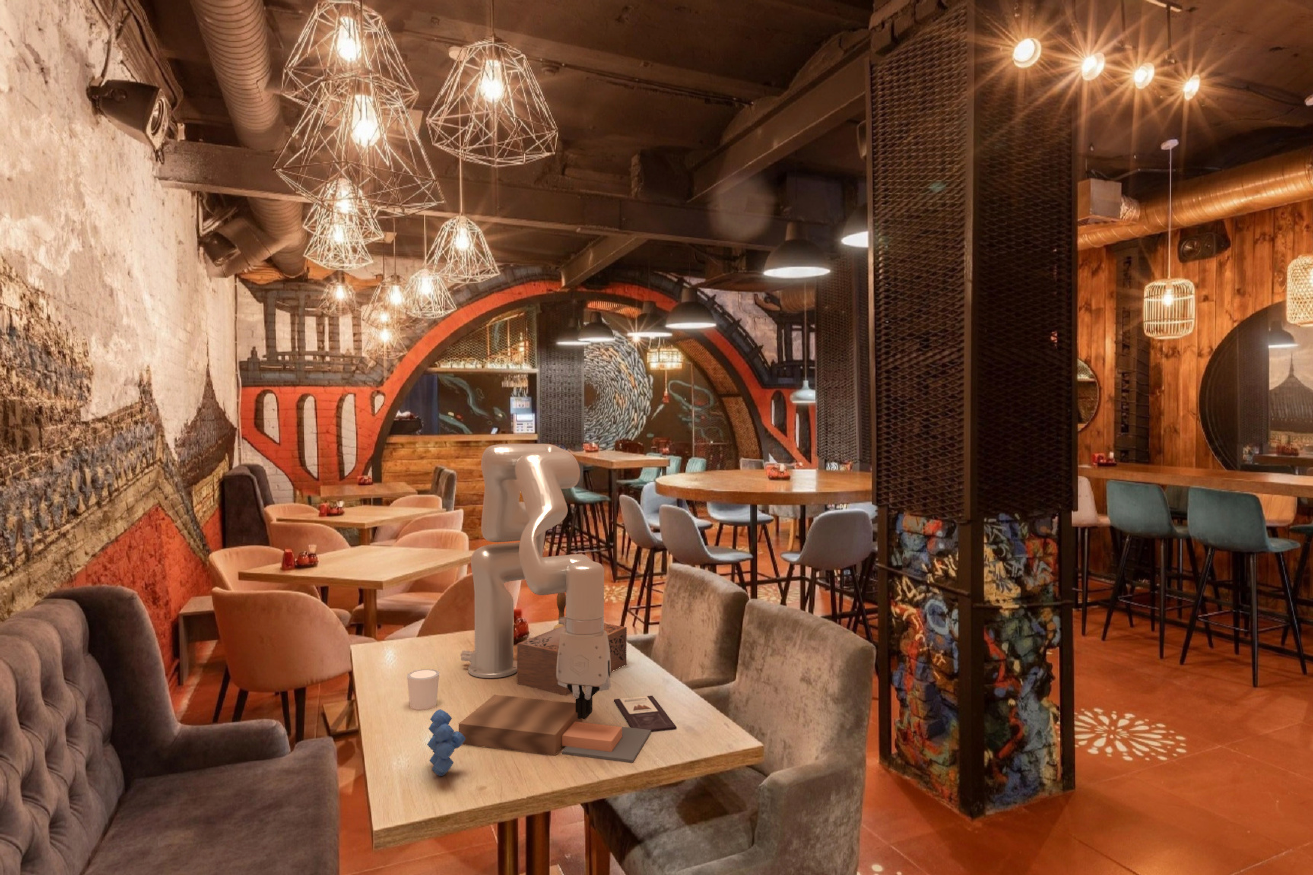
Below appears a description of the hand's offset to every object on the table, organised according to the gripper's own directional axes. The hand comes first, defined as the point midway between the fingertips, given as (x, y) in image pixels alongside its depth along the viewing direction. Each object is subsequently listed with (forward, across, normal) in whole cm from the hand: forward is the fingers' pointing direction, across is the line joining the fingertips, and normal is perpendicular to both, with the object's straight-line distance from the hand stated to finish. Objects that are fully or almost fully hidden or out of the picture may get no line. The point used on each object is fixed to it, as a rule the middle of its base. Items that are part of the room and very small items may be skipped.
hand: (583, 716), depth 153 cm
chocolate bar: (+5, +8, +16) cm, 18 cm away
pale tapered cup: (+5, -40, +8) cm, 41 cm away
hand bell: (+5, -26, +57) cm, 63 cm away
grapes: (+5, -19, -20) cm, 28 cm away
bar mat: (+5, +5, 0) cm, 7 cm away
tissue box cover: (+5, -15, +36) cm, 39 cm away
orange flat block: (+4, +2, -1) cm, 5 cm away
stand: (+5, -13, 0) cm, 14 cm away
